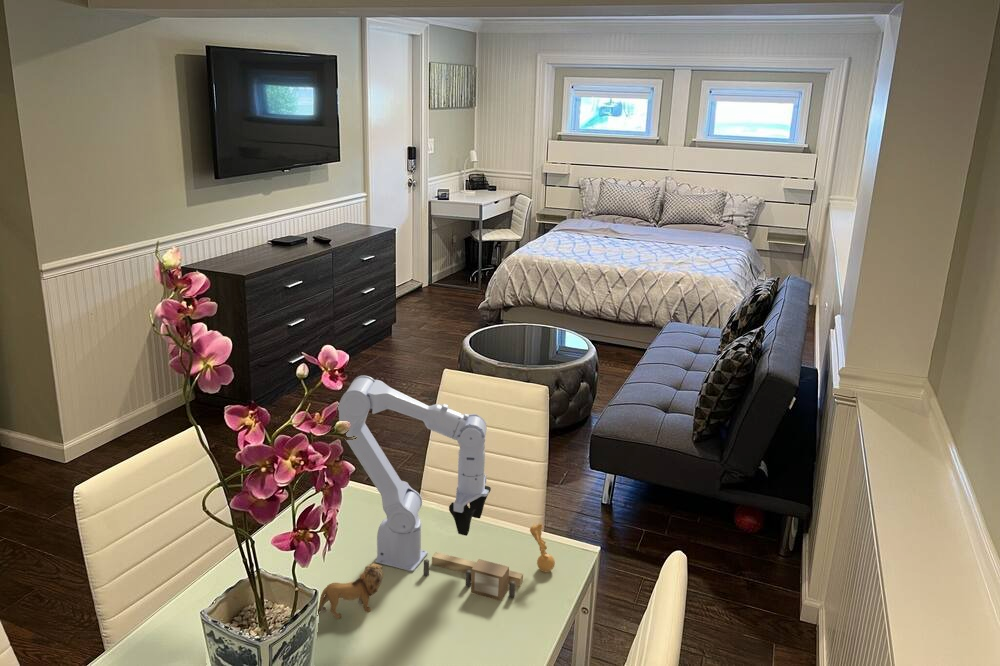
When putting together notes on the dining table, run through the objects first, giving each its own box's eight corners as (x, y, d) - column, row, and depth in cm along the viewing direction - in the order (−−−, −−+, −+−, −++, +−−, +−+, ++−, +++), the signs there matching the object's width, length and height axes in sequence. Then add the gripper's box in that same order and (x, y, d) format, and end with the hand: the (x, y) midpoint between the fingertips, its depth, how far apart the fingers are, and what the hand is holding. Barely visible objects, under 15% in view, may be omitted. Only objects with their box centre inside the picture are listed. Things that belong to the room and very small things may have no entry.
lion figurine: (378, 592, 166) (378, 556, 163) (387, 607, 161) (387, 569, 159) (310, 612, 159) (308, 574, 156) (317, 628, 155) (316, 589, 152)
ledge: (422, 575, 172) (422, 561, 171) (435, 559, 178) (435, 546, 177) (513, 598, 166) (514, 584, 164) (523, 581, 171) (523, 567, 170)
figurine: (557, 581, 172) (560, 533, 168) (530, 582, 171) (533, 534, 168) (550, 559, 180) (554, 513, 176) (525, 560, 179) (527, 514, 176)
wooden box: (470, 593, 167) (471, 569, 165) (478, 582, 171) (478, 558, 169) (501, 601, 165) (502, 577, 163) (507, 590, 168) (509, 566, 167)
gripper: (476, 489, 162) (474, 546, 166) (499, 460, 175) (497, 513, 179) (444, 482, 164) (443, 538, 168) (470, 454, 177) (469, 507, 182)
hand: (469, 525), depth 174 cm, fingers open, 7 cm apart
